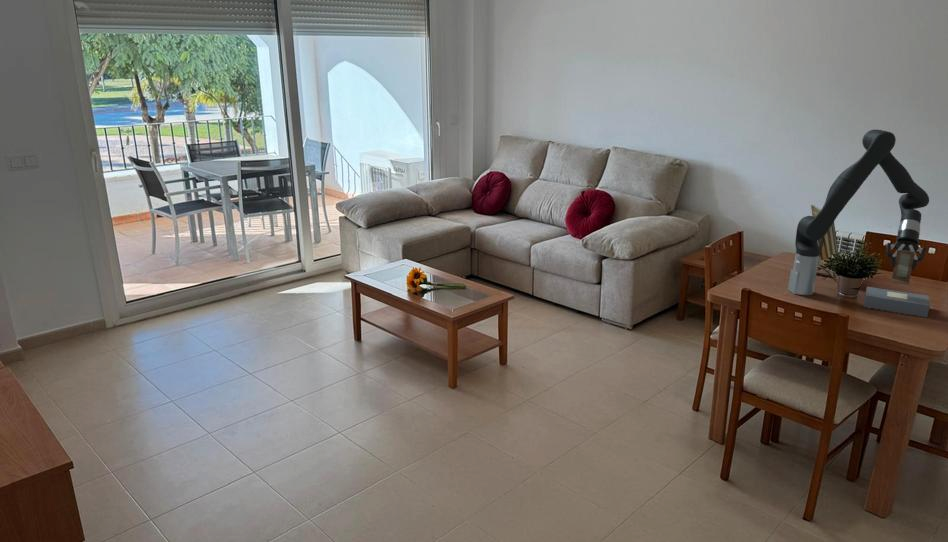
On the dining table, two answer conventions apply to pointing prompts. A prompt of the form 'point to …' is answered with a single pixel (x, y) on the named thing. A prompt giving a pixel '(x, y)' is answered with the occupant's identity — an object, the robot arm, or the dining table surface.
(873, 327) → the dining table surface
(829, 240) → the picture frame
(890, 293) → the display step
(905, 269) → the walnut frame
